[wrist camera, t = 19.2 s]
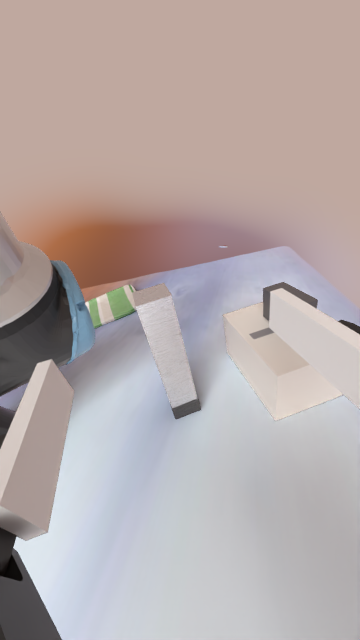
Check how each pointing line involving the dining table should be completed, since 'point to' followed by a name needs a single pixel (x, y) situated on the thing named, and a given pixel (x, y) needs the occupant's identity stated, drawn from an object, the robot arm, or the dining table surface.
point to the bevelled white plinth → (273, 365)
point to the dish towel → (112, 305)
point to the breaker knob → (291, 290)
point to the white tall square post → (167, 347)
